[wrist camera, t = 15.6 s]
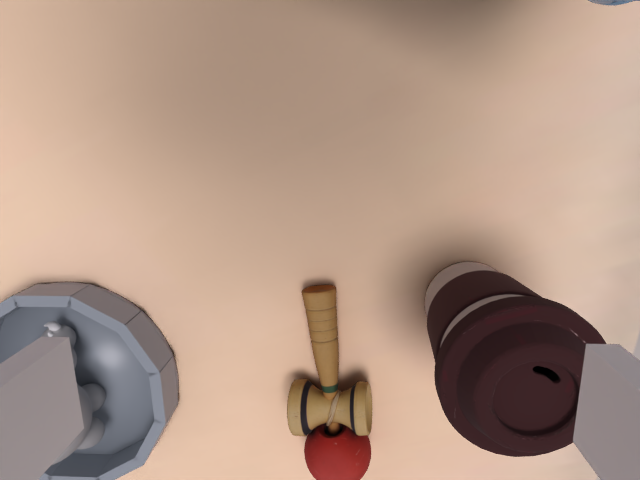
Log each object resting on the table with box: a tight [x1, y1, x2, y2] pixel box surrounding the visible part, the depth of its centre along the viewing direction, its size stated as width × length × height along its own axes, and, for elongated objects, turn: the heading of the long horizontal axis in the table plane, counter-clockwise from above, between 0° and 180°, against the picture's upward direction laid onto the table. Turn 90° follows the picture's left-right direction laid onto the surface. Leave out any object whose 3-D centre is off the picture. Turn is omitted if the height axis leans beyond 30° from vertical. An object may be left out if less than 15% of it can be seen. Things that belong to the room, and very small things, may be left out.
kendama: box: [287, 285, 372, 480], centre depth 39 cm, size 8×6×18 cm
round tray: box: [0, 282, 179, 480], centre depth 41 cm, size 19×19×4 cm
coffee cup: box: [425, 262, 606, 457], centre depth 31 cm, size 10×10×15 cm
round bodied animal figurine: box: [11, 321, 106, 465], centre depth 38 cm, size 7×12×8 cm, turn 1°
